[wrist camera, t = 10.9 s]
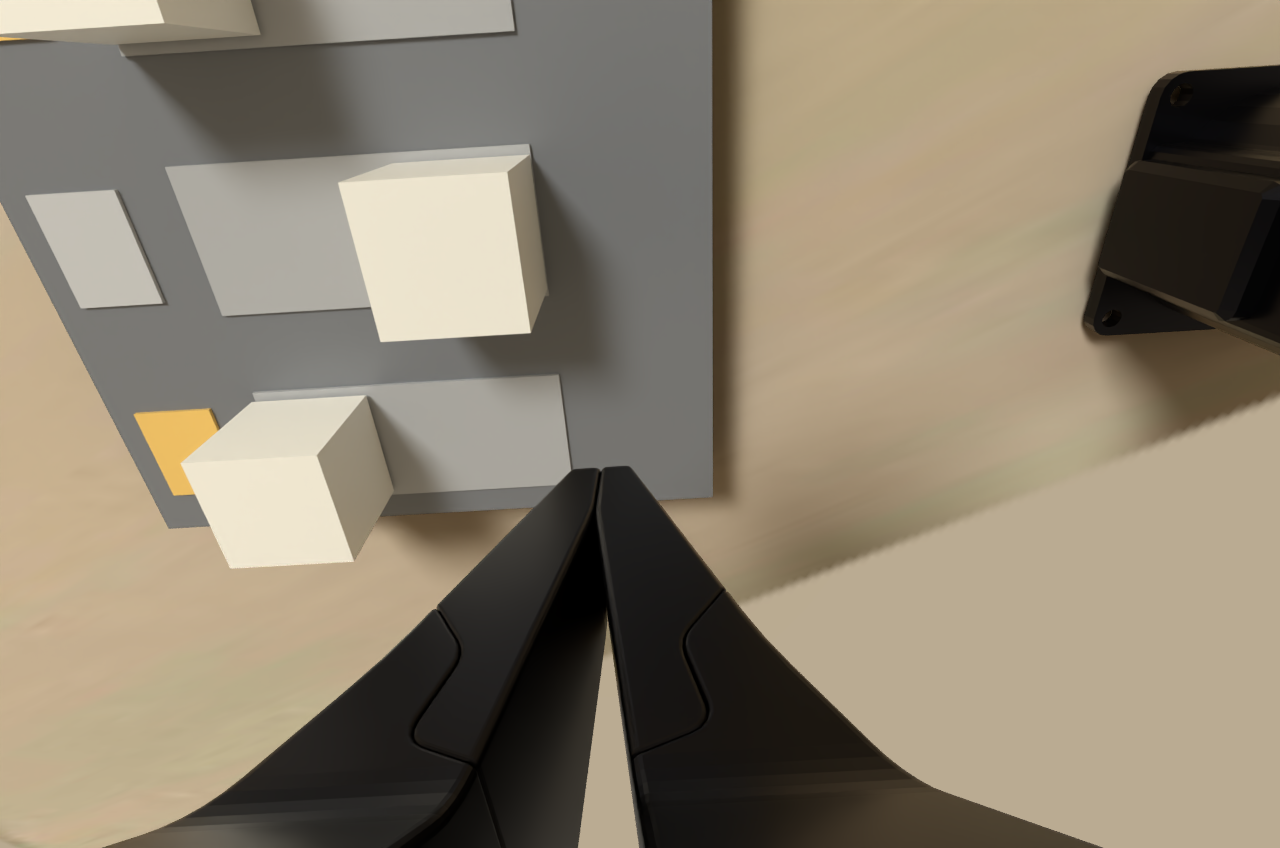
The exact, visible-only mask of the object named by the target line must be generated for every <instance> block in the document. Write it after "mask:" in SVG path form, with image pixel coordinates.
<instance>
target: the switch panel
mask: <svg viewBox="0 0 1280 848" xmlns="http://www.w3.org/2000/svg"><path fill="white" fill-rule="evenodd" d="M251 3H252V7H253V10H254V14H255V17H256V20H257V24H258V27H259V31H260V34H261V35H254V36H239V37H224V38H208V39H193V40H178V41H162V42H147V43H132V44H116V45H108V44H93V43H79V42H65V41H50V40H36V39H21V38H7V37H0V202H1V204H2V206H3V208H4V210H5V212H6V214H7V216H8V218H9V220H10V222H11V224H12V226H13V227H14V229H15V231H16V233H17V235H18V237H19V239H20V241H21V243H22V245H23V247H24V249H25V251H26V253H27V255H28V257H29V259H30V260H31V262H32V264H33V266H34V268H35V270H36V272H37V274H38V276H39V278H40V280H41V282H42V284H43V286H44V288H45V290H46V291H47V293H48V295H49V297H50V299H51V301H52V303H53V305H54V307H55V309H56V311H57V313H58V315H59V317H60V319H61V321H62V322H63V324H64V326H65V328H66V330H67V332H68V334H69V336H70V338H71V340H72V342H73V344H74V346H75V348H76V350H77V352H78V354H79V355H80V357H81V359H82V361H83V363H84V365H85V367H86V369H87V371H88V373H89V375H90V377H91V379H92V381H93V383H94V385H95V386H96V388H97V390H98V392H99V394H100V396H101V398H102V400H103V402H104V404H105V406H106V408H107V410H108V412H109V414H110V416H111V418H112V419H113V421H114V423H115V425H116V427H117V429H118V431H119V433H120V435H121V437H122V439H123V441H124V443H125V445H126V447H127V449H128V450H129V452H130V454H131V456H132V458H133V460H134V462H135V464H136V466H137V468H138V470H139V472H140V474H141V476H142V478H143V480H144V481H145V483H146V485H147V487H148V489H149V491H150V493H151V495H152V497H153V499H154V501H155V503H156V505H157V507H158V509H159V511H160V513H161V514H162V516H163V518H164V520H165V522H166V524H167V526H168V528H169V529H171V528H189V527H206V526H210V525H209V523H208V520H207V518H206V516H205V514H204V512H203V510H202V508H201V506H200V504H199V501H198V499H197V497H196V495H195V493H194V491H193V489H192V487H191V485H190V483H189V480H188V478H187V476H186V474H185V472H184V470H183V468H182V466H181V464H180V463H181V462H182V461H184V460H185V459H186V458H187V457H188V456H189V455H191V454H192V453H193V452H194V451H195V450H196V449H198V448H199V447H200V446H201V445H202V444H203V443H205V442H206V441H207V440H208V439H209V438H210V437H212V436H213V435H214V434H215V433H216V432H217V431H219V430H220V429H221V428H222V427H223V426H224V425H226V424H227V423H228V422H229V421H230V420H231V419H232V418H234V417H235V416H236V415H237V414H238V413H239V412H241V411H242V410H243V409H244V408H245V407H246V406H248V405H249V404H250V403H251V402H261V401H278V400H295V399H312V398H328V397H345V396H362V395H366V397H367V400H368V403H369V407H370V410H371V414H372V417H373V420H374V424H375V427H376V431H377V434H378V438H379V441H380V444H381V448H382V451H383V455H384V458H385V462H386V465H387V468H388V472H389V475H390V479H391V482H392V485H393V489H394V492H393V493H392V495H391V497H390V499H389V500H388V502H387V504H386V506H385V508H384V509H383V511H382V513H381V515H380V516H396V515H413V514H430V513H447V512H465V511H482V510H499V509H516V508H534V507H535V506H536V505H537V504H538V503H539V502H540V501H541V500H542V499H543V498H544V497H545V496H546V495H547V494H548V493H549V492H550V491H551V490H552V489H553V488H554V487H555V486H556V485H557V484H558V483H559V482H560V481H561V480H562V479H563V478H564V477H565V476H566V475H567V474H568V473H569V472H570V471H571V470H573V469H582V468H598V469H600V471H602V469H603V468H604V467H612V466H630V467H631V468H632V469H633V470H634V472H635V473H636V474H637V475H638V477H639V478H640V479H641V481H642V482H643V483H644V484H645V486H646V487H647V488H648V490H649V491H650V492H651V493H652V495H653V496H654V497H655V499H656V500H672V499H689V498H706V497H713V274H712V0H251ZM514 155H530V160H531V168H532V175H533V183H534V191H535V199H536V206H537V214H538V222H539V230H540V237H541V245H542V253H543V261H544V268H545V276H546V284H547V291H546V294H545V297H544V299H543V302H542V305H541V307H540V310H539V313H538V315H537V318H536V320H535V323H534V326H533V328H532V331H531V333H524V334H508V335H491V336H475V337H458V338H442V339H425V340H409V341H392V342H380V338H379V334H378V331H377V327H376V323H375V319H374V316H373V312H372V308H371V304H370V301H369V297H368V293H367V290H366V286H365V282H364V278H363V275H362V271H361V267H360V263H359V260H358V256H357V252H356V249H355V245H354V241H353V237H352V234H351V230H350V226H349V222H348V219H347V215H346V211H345V208H344V204H343V200H342V196H341V193H340V189H339V185H338V182H341V181H344V180H347V179H350V178H352V177H355V176H358V175H361V174H364V173H366V172H369V171H372V170H375V169H378V168H380V167H383V166H386V165H389V164H392V163H403V162H419V161H435V160H450V159H466V158H482V157H498V156H514Z"/></svg>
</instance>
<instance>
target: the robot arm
mask: <svg viewBox="0 0 1280 848" xmlns="http://www.w3.org/2000/svg"><path fill="white" fill-rule="evenodd" d="M1178 86H1179V87H1180V95H1179V97H1178V99H1177V101H1175V102H1174V103H1173V104H1171V102H1170V100H1171V95H1172V93H1173V91H1174V89H1176V88H1177V87H1178ZM1111 310H1112V313H1111V315H1110V317H1109V318H1108V319H1107V320H1105V321H1103V317H1104V316H1105V314H1106V313H1108V312H1109V311H1111ZM1102 321H1103V322H1102ZM1084 322H1085V324H1086V327H1088V328H1089V329H1091V330H1093V331H1094V332H1096V333H1098V334H1100V335H1123V334H1139V333H1156V332H1173V331H1189V330H1206V329H1219V330H1221V331H1223V332H1226V333H1228V334H1231V335H1233V336H1235V337H1238V338H1240V339H1242V340H1245V341H1247V342H1250V343H1252V344H1254V345H1257V346H1259V347H1262V348H1264V349H1266V350H1269V351H1271V352H1273V353H1276V354H1278V355H1280V65H1268V66H1252V67H1236V68H1221V69H1205V70H1189V71H1176V72H1172V73H1168V74H1166V75H1165V76H1163V77H1162V78H1160V79H1159V80H1158V81H1157V83H1156V84H1155V85H1154V86H1153V87H1152V89H1151V91H1150V94H1149V96H1148V99H1147V102H1146V106H1145V109H1144V113H1143V116H1142V119H1141V123H1140V126H1139V130H1138V133H1137V137H1136V140H1135V144H1134V147H1133V150H1132V154H1131V157H1130V161H1129V164H1128V168H1127V170H1126V172H1125V174H1124V178H1123V181H1122V185H1121V188H1120V191H1119V195H1118V198H1117V202H1116V205H1115V209H1114V212H1113V216H1112V219H1111V222H1110V226H1109V229H1108V233H1107V236H1106V240H1105V243H1104V247H1103V250H1102V253H1101V257H1100V260H1099V267H1098V271H1097V274H1096V278H1095V281H1094V284H1093V288H1092V291H1091V295H1090V298H1089V302H1088V305H1087V309H1086V312H1085V317H1084ZM607 615H608V622H609V630H610V638H611V645H612V652H613V660H614V667H615V673H616V681H617V689H618V696H619V703H620V711H621V717H622V725H623V732H624V740H625V747H626V754H627V761H628V769H629V776H630V783H631V791H632V798H633V805H634V813H635V820H636V827H637V835H638V841H639V848H1102V847H1099V846H1097V845H1094V844H1091V843H1088V842H1085V841H1082V840H1079V839H1076V838H1074V837H1071V836H1068V835H1065V834H1062V833H1060V832H1057V831H1054V830H1051V829H1048V828H1045V827H1042V826H1040V825H1037V824H1034V823H1031V822H1028V821H1025V820H1022V819H1020V818H1017V817H1014V816H1011V815H1008V814H1005V813H1003V812H1000V811H997V810H994V809H991V808H988V807H985V806H983V805H980V804H977V803H974V802H971V801H969V800H966V799H963V798H960V797H957V796H954V795H951V794H948V793H946V792H943V791H941V790H938V789H936V788H933V787H931V786H929V785H928V784H926V783H924V782H922V781H920V780H918V779H917V778H915V777H914V776H912V775H911V774H909V773H908V772H906V771H905V770H903V769H902V768H901V767H899V766H898V765H897V764H896V763H894V762H893V761H892V760H890V759H889V758H888V757H887V756H886V755H885V754H883V753H882V752H881V751H880V750H879V749H878V748H877V747H876V746H875V745H873V744H872V743H871V742H870V741H869V740H868V739H867V738H866V737H865V736H864V735H863V734H862V733H861V732H860V731H859V730H858V729H857V728H856V727H855V726H854V725H853V724H852V723H851V722H850V721H849V720H848V719H847V718H846V717H845V716H844V715H843V714H842V713H841V712H840V711H838V709H837V708H835V707H834V706H833V705H832V704H831V703H830V702H829V701H828V700H827V699H826V698H825V697H824V696H823V695H822V694H821V693H820V692H819V691H818V690H817V689H816V688H815V687H814V686H813V685H812V684H811V683H810V682H809V681H808V680H807V679H805V677H804V676H803V675H802V674H800V673H799V672H798V671H797V670H796V669H795V668H794V667H793V666H792V665H791V664H790V663H789V662H788V661H787V660H786V658H785V657H784V656H783V655H782V654H781V653H780V652H778V650H777V649H776V648H775V647H774V646H773V645H772V644H771V643H770V642H769V641H768V640H767V639H766V638H765V637H764V636H763V635H762V633H761V632H760V631H759V630H758V628H757V627H756V626H755V625H754V624H753V623H752V622H751V620H750V619H749V618H748V617H747V615H746V614H745V613H744V612H743V611H742V609H741V608H740V607H739V605H738V604H737V603H736V602H735V600H734V599H733V598H732V596H731V595H730V594H729V593H728V592H726V590H725V588H724V586H723V585H722V584H721V583H720V581H719V580H718V579H717V577H716V576H715V575H714V574H713V572H712V571H711V570H710V568H709V567H708V566H707V564H706V563H705V562H704V561H703V559H702V558H701V557H700V555H699V554H698V553H697V552H696V550H695V549H694V548H693V546H692V545H691V544H690V543H689V541H688V540H687V539H686V537H685V536H684V535H683V533H682V532H681V531H680V530H679V528H678V527H677V526H676V524H675V523H674V522H673V521H672V519H671V518H670V517H669V515H668V514H667V513H666V512H665V510H664V509H663V508H662V506H661V505H660V504H659V502H658V501H657V500H656V499H655V497H654V496H653V495H652V493H651V492H650V491H649V490H648V488H647V487H646V486H645V484H644V483H643V482H642V481H641V479H640V478H639V477H638V475H637V474H636V473H635V472H634V470H633V469H632V468H631V467H630V466H612V467H604V468H603V469H602V471H600V469H598V468H582V469H573V470H571V471H570V472H569V473H568V474H567V475H566V476H565V477H564V478H563V479H562V480H561V481H560V482H559V483H558V484H557V485H556V486H555V487H554V488H553V489H552V490H551V491H550V492H549V493H548V494H547V495H546V496H545V497H544V498H543V499H542V500H541V501H540V502H539V503H538V504H537V505H536V506H535V507H534V508H533V509H532V510H531V511H530V512H529V513H528V514H527V515H526V516H525V517H524V518H523V519H522V520H521V521H520V522H519V523H518V524H517V525H516V526H515V527H514V528H513V529H512V530H511V531H510V532H509V533H508V534H507V535H506V536H505V537H504V538H503V539H502V540H501V541H500V542H499V544H498V545H497V546H496V547H495V548H494V549H493V550H492V551H491V552H490V553H489V554H488V555H487V556H486V557H485V558H484V559H483V560H482V561H481V562H480V563H479V564H478V565H477V566H476V567H475V568H474V569H473V570H472V571H471V572H470V573H469V574H468V575H467V576H466V577H465V578H464V579H463V580H462V581H461V582H460V583H459V584H458V585H457V586H456V587H455V588H454V589H453V590H452V591H451V592H450V593H449V594H448V595H447V596H446V597H445V598H444V599H443V600H442V601H441V602H440V603H439V604H438V605H437V610H436V609H434V610H432V611H431V612H430V613H429V614H428V615H427V616H426V617H425V618H424V619H423V620H422V621H421V622H420V623H419V624H418V625H417V626H416V627H415V628H414V629H413V630H412V631H411V632H410V633H409V634H408V635H407V636H406V637H405V638H404V639H403V640H401V641H400V642H399V643H398V644H397V645H396V646H395V647H394V648H393V649H392V650H391V651H390V652H389V653H388V654H387V655H386V656H385V657H384V658H383V659H382V660H380V661H379V662H378V663H377V664H376V665H375V666H374V667H372V668H371V669H370V670H369V671H368V672H367V673H366V674H364V675H363V676H362V677H361V678H360V679H359V680H358V681H356V682H355V683H354V684H353V685H352V686H351V687H350V688H348V689H347V690H346V691H345V692H344V693H343V694H341V695H340V696H339V697H338V698H337V699H336V700H334V701H333V702H332V703H331V704H330V705H328V706H327V707H326V708H325V709H324V710H322V711H321V712H320V713H319V714H318V715H316V716H315V717H314V718H313V719H312V720H311V721H309V722H308V723H307V724H306V725H305V726H303V727H302V728H301V729H300V730H299V731H297V732H296V733H295V734H294V735H293V736H292V737H290V738H289V739H288V740H287V741H286V742H284V743H283V744H282V745H281V746H280V747H278V748H277V749H276V750H275V751H274V752H272V753H271V754H270V755H269V756H268V757H267V758H265V759H264V760H263V761H262V762H261V763H259V764H258V765H257V766H256V767H255V768H253V769H252V770H251V771H250V772H249V773H248V774H246V775H245V776H244V777H243V778H241V779H240V780H239V781H238V782H236V783H235V784H234V785H232V786H231V787H230V788H229V789H227V790H226V791H225V792H224V793H222V794H221V795H219V796H218V797H216V798H215V799H213V800H212V801H210V802H209V803H207V804H206V805H204V806H203V807H201V808H199V809H197V810H196V811H194V812H192V813H190V814H188V815H187V816H185V817H183V818H181V819H179V820H177V821H175V822H172V823H170V824H168V825H166V826H164V827H161V828H159V829H157V830H154V831H151V832H148V833H146V834H143V835H140V836H137V837H134V838H131V839H128V840H125V841H122V842H118V843H115V844H112V845H109V846H106V847H103V848H578V842H579V835H580V827H581V819H582V812H583V804H584V797H585V789H586V782H587V774H588V767H589V759H590V751H591V744H592V736H593V729H594V721H595V713H596V705H597V699H598V691H599V683H600V676H601V668H602V661H603V653H604V646H605V638H606V628H607Z"/></svg>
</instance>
